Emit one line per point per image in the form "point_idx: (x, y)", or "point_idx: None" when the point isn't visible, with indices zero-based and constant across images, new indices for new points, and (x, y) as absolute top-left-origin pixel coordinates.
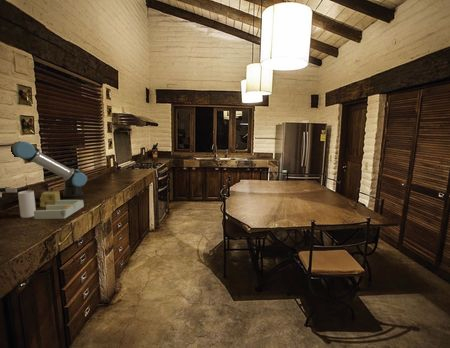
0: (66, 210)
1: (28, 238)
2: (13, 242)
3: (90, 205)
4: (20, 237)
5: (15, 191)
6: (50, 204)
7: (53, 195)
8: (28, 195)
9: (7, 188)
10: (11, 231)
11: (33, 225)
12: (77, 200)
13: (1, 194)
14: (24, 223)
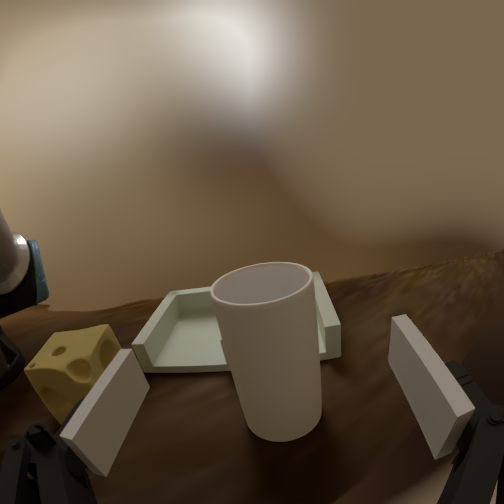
0: None
1: (463, 274)
2: (489, 277)
3: None
4: (471, 284)
5: (144, 383)
6: None
7: (110, 335)
8: (295, 279)
9: (85, 419)
10: (465, 322)
11: None
12: (174, 297)
13: (390, 338)
14: None
